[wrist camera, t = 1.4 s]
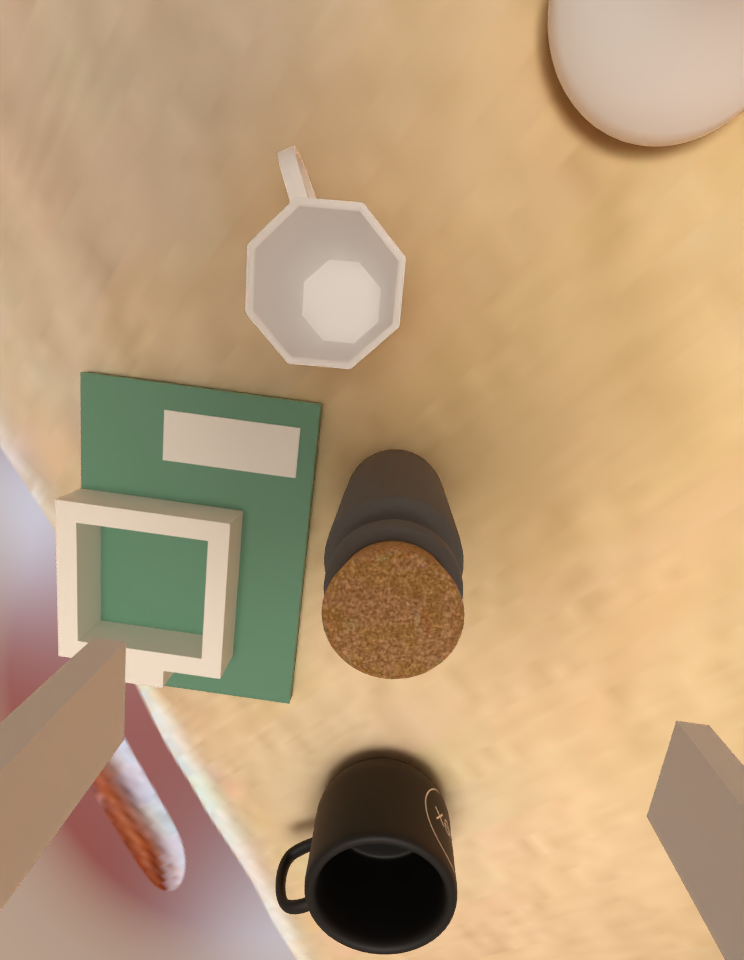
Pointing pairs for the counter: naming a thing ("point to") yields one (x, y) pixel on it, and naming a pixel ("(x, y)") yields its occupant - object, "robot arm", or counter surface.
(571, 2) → the flower in vase
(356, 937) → the mug
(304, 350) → the cup
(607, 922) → the counter surface
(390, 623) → the bottle
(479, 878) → the counter surface
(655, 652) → the counter surface
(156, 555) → the board
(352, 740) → the counter surface
